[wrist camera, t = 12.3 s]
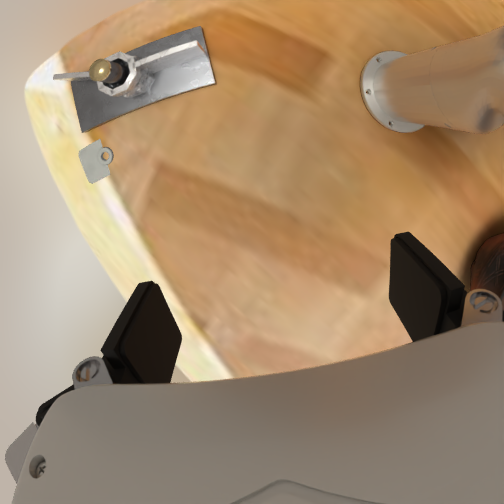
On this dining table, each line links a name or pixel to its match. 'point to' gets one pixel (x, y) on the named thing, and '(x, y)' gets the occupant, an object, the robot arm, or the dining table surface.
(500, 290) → the bowl
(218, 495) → the robot arm
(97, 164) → the mounting bracket
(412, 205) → the dining table surface
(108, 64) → the hinge pin
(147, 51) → the hinge stand
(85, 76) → the hinge leaf
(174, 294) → the dining table surface
